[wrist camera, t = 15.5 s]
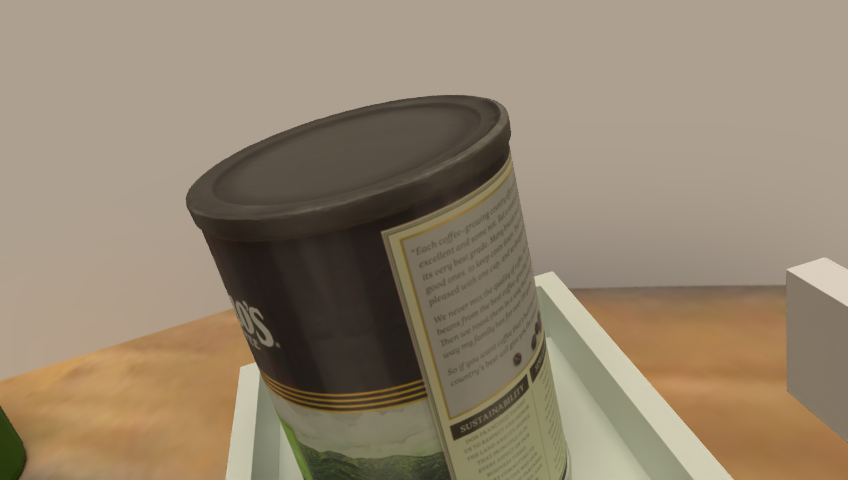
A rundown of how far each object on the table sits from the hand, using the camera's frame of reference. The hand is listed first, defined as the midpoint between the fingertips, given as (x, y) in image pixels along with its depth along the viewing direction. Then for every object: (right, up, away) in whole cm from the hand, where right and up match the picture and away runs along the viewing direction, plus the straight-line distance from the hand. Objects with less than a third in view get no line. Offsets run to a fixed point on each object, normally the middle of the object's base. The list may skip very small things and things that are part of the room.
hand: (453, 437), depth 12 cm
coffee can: (0, -6, +15) cm, 16 cm away
